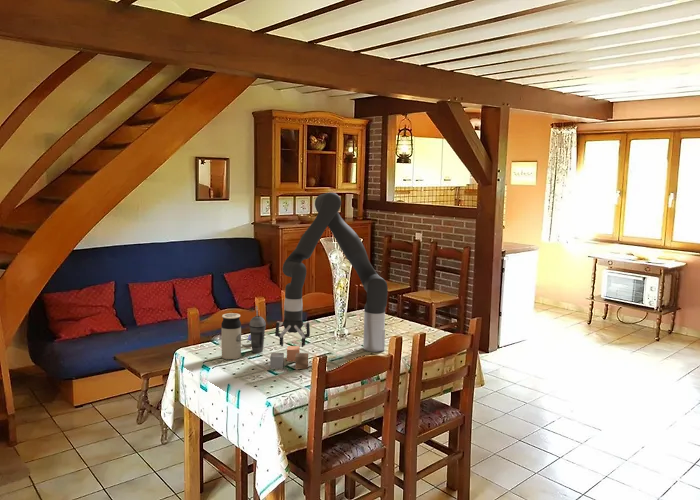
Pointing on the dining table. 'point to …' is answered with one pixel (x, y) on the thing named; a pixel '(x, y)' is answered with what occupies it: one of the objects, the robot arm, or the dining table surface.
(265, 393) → the dining table surface
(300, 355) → the walnut block
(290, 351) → the terracotta block
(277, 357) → the slate block
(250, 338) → the geometric puzzle
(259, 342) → the beverage cup
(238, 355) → the travel mug
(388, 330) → the dining table surface
